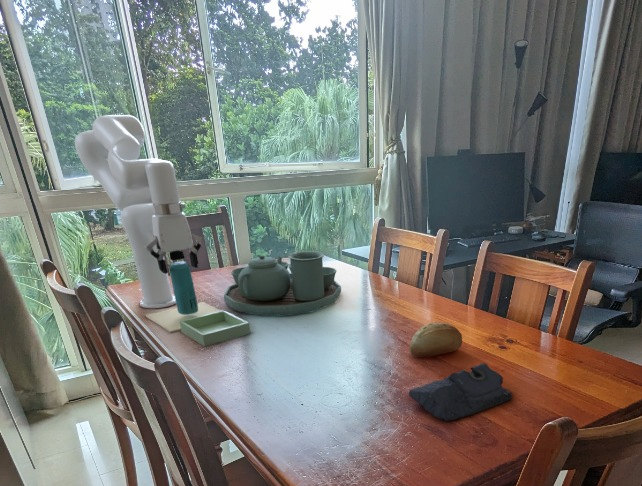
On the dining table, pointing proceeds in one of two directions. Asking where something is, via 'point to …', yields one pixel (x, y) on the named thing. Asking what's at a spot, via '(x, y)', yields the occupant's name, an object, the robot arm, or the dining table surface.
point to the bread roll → (435, 340)
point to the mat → (178, 316)
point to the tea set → (283, 285)
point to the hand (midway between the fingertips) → (179, 269)
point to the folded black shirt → (462, 393)
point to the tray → (214, 327)
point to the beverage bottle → (182, 284)
